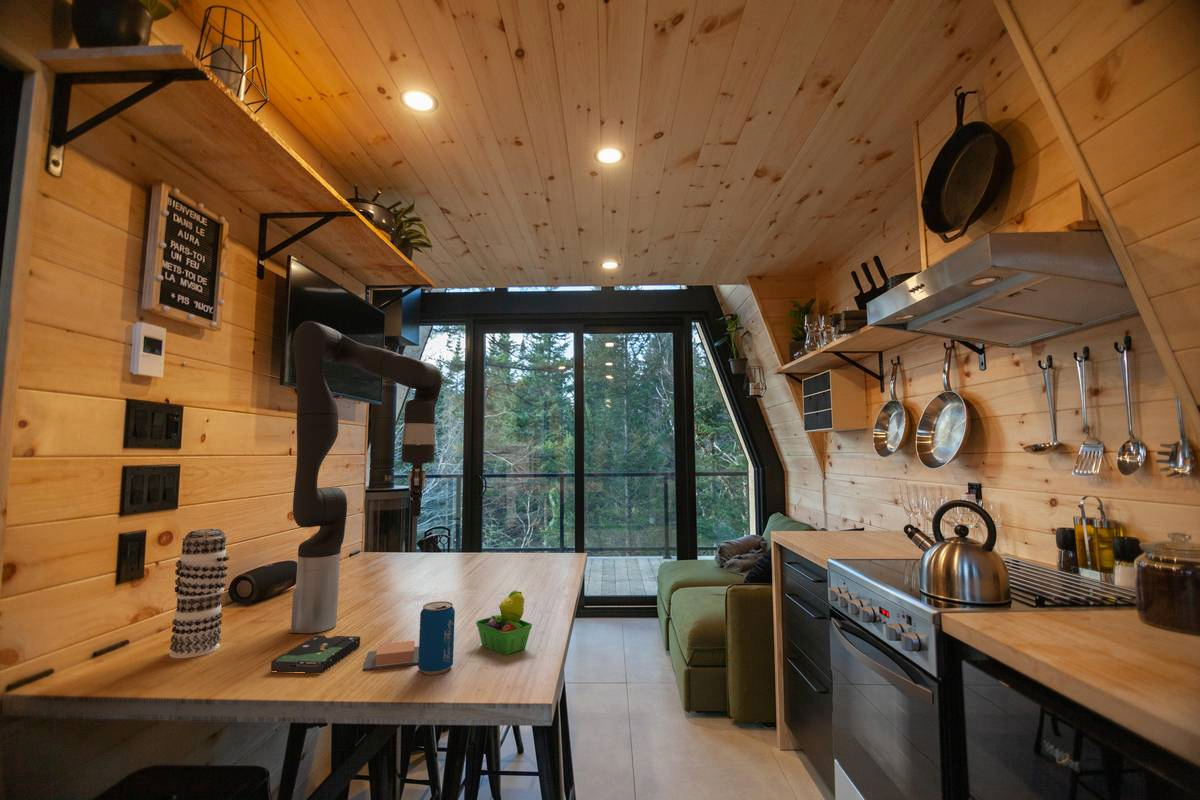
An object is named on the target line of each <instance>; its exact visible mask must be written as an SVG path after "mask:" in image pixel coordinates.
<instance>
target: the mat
mask: <svg viewBox="0 0 1200 800" xmlns="http://www.w3.org/2000/svg"><path fill="white" fill-rule="evenodd" d="M376 653H377V650H371V651H368V652H367V655H366V659H365V662H364V665H363V667H362V668H363V669H362V670H365V671H371V670H370V669H374V670H380V669H379V668H381V670H382V668H383V669H389V668H391V667H392V668H398V667H407V666H418V659H419V646H415V647H414V662H412V663H403V664H394V665H385V666H376V667H375V663H376ZM392 668H391V669H392Z"/></svg>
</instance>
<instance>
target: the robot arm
mask: <svg viewBox="0 0 1200 800" xmlns="http://www.w3.org/2000/svg"><path fill="white" fill-rule="evenodd" d="M292 347H293V350H292V351H293V358H294V366H295V375H296V376H295V377H296V404H297V405H296V466H295V467H296V469H295V478H294V479H295V481H294V489H293V499H292V514H293V515H292V516H293V518H294V519H293V520H294V522H295V523H296V525H297V526H298V527H300V528H303V529H305V528H313V527H314V528H315V527H316V528H317V527H319V529H318V531H317V532H316V533H315V534H314V535H313V536H312V537H311V536H310V538H308V539H306V540H304V541H302V542H300V544H299V545H298V547H297V548H298V549H297V561H296V562H297V563H296V564H297V565H296V581H295V588H294V590H293V591H292V601H291V602H292V604H291V617H290V618H291V619H290V633H291V634H296V633H297V634H313V633H314V634H315V633H321V632H325V631H329V630H331V629H333V628H335V627H336V626H337V620H338V602H339V587H340V585H339V583H340V572H341V571H340V569H341V555H342V554H341V552H342V551H341V549H342V545H343V542H344V540H345V539H344V538H345V531H346V523H347V516H348V515H347V513H348V500H347V499H348V498H347V495H346V493H345V492H344V490H343V489H342V488H339V487H318V478H319V471H320V468H321V466H322V464H323V461H324V460H325V458H326V457H327V455H328V454H329V451H331V449H332V448H333V446H334V444H335V442H336V440H337V438H338V435H339V410H338V406H337V402H336V401H335V398H334V396H333V394H332V392H331V389H330V388H329V385H328V382H327V381H326V378H325V377H326V376H325V373H324V363H325V362H327V363H335V364H343V365H348V366H352V367H355V368H358V369H359V370H362V371H363V372H365V373H367V374H370V375H372V376H376V377H379V378H381V379H385V380H389V381H393V382H395V383H397V384H399V385H401V386H404V387H406V388H410V389H413V390H415V392H414V396H413V399H410V400H408V401H407V402H406V403H405V406H404V413H403V414H404V415H403V416H404V419H403V420H404V421H403V430H402V433H401V434H402V437H401V439H402V440H401V457H400V461H401V463H402V464H412V467H411V470H408V472H407V473H408V475H407V477H408V490H409V491H410V494H409V499H410V501H411V502H410V517H420V516H421V512H422V511H421V510H422V499H423V491H424V490H425V482H426V481H425V479H426V477H427V471H426V470H423V467H424V464H432V463H434V462H435V447H436V428H435V421H436V420H435V419H436V417H435V416H436V405H437V403H438V400H439V396H440V392H441V389H442V383H443V382H442V381H443V378H442V373H441V370H440V369H439V367H438V366H436V365H435V364H432V363H430V362H426V361H422V360H420V359H417V358H413V357H408V356H405V355H402V354H400V353H397V352H394V351H392V350H388V349H386V348H382V347H378V346H374V345H368V344H364V343H360V342H357V341H355V340H353V339H351V338H349V337H347V336H346V335H344V333H343V334H342V333H341V332H339V331H338V330H336V329H334V328H332V327H330V326H327V325H324V324H322V323H319V322H316V321H313V320H311V321H310V320H308V321H307V320H306V321H303V322H302V323H300V324H299V325H298V326H297V328H296V329H295V330H294V334H293V341H292Z"/></svg>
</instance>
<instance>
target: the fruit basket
mask: <svg viewBox="0 0 1200 800" xmlns="http://www.w3.org/2000/svg"><path fill="white" fill-rule="evenodd" d="M522 593H523V592H522V591H518V590H512V591H511V592H510V593H509V595H508V596H507V598H505V599H504V600H502V601H501V602H500V604H499V605H498V608H499V610H500V615H498V614H496V615H494V614H493V615H492V616H490V617H487V618H483V619H478V620H477V621H475V624H476V628H477V631H478V633H479V638H480V642H481V645H482V646H483V645H484V647H485V646H487V647H486V648H488V649H490V648H491V649H490V650H493V649H494V650H493V651H495V650H496V651H495V652H497V651H498V653H500V652H501V654H502V653H503V654H502V655H505V656H508V654H509V655H511V654H514V653H513V652H515V653H517V652H516V651H518V652H520V651H522V649H523V650H525V649H526V646H527V643H528V639H529V636H530V632H531V630H532V626H533V623H532V622H531V623H530V622H528V621H526V620H522V618H523V615H524V610H525V609H524V607H525V606H524V604H525V598H524V596H523V594H522ZM519 650H520V651H519ZM510 653H511V654H510Z"/></svg>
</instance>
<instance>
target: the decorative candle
mask: <svg viewBox="0 0 1200 800" xmlns="http://www.w3.org/2000/svg"><path fill="white" fill-rule="evenodd" d="M228 537H229V535H227V534H225V533H224V531H223V530H222V529H220V528H205V529H204V528H203V529H202V528H201V529H194V530H190V531H189V532H188V533H187V534H186V536H185V537H183V538H181V540H182V543H181V546H182V547H181V553H180V554H179V559H178V560H177V562H175V566H176V567H175V568H177V569H175V571H174V573H175V575H176V576H177V578H176V579H175V581H174V584H175V585H176V586H175V587H174V592H175V595H174V598H175V599H177V601H176V609H175V611H174V618H173V620H172V625H173V627H172V629H171V633H174V634H173V635H171V636H170V639H169V640H170V642H171V643H170V646H169V650H170V652H169V655H168V656H169V657H170V658H173V659H191V658H196V657H200V656H204V655H205V656H206V655H208V654H211V653H214V652H215V651H217V650H219V649H220V647H221V645H220V643H219V642H220V641H221V639H222V638H221V636H220V634H221V633H222V628H221V627H220V626H222V624H223V623H222V620H221V618H222V617H223V613H222V603H221V601H222V593H224V592H225V588H224V587H225V586H226V583H225V582H223V579H224V578H226V577H227V576H228V574H227V573H225V571H226V570H229V569H228V566H227V565H225V564H224V563H226V562H227V561H229V560H230V557H229V556H228V555H227V554H226V553H227V549H226V540H227V538H228Z"/></svg>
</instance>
